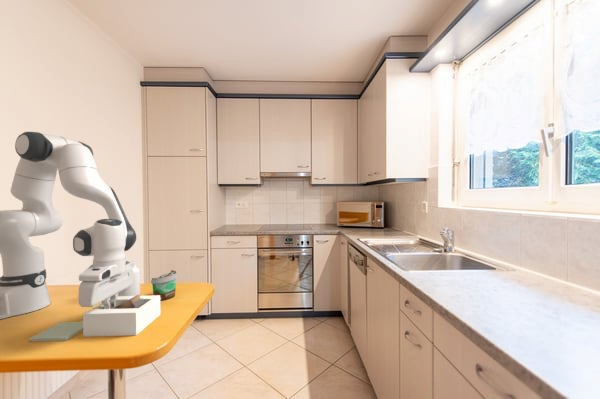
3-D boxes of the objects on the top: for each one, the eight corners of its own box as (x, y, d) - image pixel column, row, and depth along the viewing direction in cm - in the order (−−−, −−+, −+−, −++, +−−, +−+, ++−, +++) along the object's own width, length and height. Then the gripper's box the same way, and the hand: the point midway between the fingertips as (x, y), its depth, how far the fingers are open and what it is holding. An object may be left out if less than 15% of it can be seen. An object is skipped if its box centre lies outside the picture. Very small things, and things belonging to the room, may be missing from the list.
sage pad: (29, 341, 76) (29, 338, 76) (60, 324, 86) (60, 322, 86) (66, 340, 76) (66, 337, 76) (93, 323, 86) (93, 321, 86)
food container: (164, 304, 102) (163, 279, 102) (151, 302, 103) (150, 278, 103) (184, 292, 114) (183, 270, 114) (172, 291, 115) (171, 269, 115)
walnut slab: (104, 322, 83) (100, 314, 83) (113, 316, 87) (110, 309, 87) (134, 306, 83) (130, 299, 83) (142, 301, 87) (138, 294, 87)
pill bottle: (123, 301, 104) (122, 265, 104) (114, 298, 109) (113, 263, 109) (143, 295, 111) (143, 261, 111) (134, 292, 115) (133, 259, 115)
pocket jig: (83, 336, 78) (82, 313, 78) (115, 315, 92) (115, 296, 92) (136, 335, 78) (135, 312, 78) (160, 314, 92) (160, 295, 92)
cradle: (103, 327, 82) (100, 321, 82) (115, 319, 88) (112, 313, 88) (136, 310, 83) (133, 304, 83) (146, 303, 88) (143, 297, 88)
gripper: (121, 259, 95) (121, 295, 96) (73, 277, 75) (73, 323, 75) (138, 259, 95) (138, 296, 96) (95, 277, 75) (95, 323, 75)
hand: (109, 308), depth 85 cm, fingers closed, pressing on walnut slab
